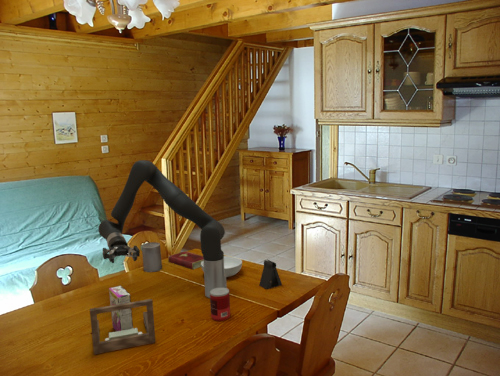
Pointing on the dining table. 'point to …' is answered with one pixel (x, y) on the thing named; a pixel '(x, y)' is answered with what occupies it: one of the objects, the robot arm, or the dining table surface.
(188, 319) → the dining table surface
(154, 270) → the pillar candle
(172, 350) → the dining table surface
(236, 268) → the serving bowl
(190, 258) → the hardcover book
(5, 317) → the dining table surface
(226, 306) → the canned food
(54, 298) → the dining table surface
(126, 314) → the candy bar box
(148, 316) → the frame
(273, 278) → the phone stand
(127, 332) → the upper offcut
